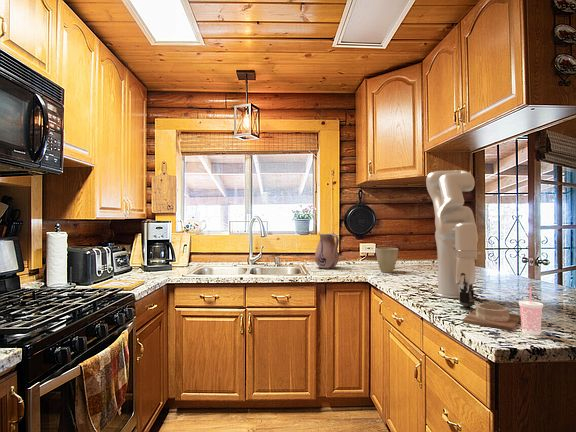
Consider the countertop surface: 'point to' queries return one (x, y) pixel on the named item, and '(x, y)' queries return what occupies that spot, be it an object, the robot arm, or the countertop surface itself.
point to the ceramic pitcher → (327, 251)
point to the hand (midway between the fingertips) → (466, 300)
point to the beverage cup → (531, 316)
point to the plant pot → (386, 259)
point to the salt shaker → (471, 302)
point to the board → (493, 317)
